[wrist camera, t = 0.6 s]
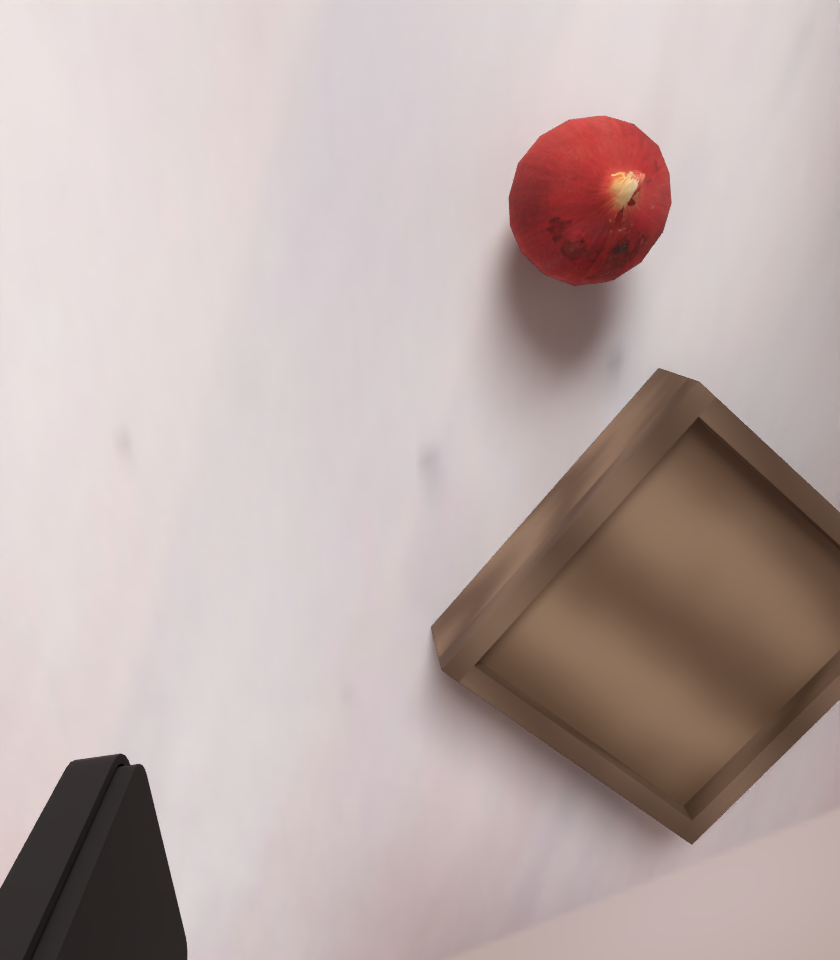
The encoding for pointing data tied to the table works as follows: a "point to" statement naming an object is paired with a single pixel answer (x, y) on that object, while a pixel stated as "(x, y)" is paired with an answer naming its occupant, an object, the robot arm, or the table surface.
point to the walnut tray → (662, 609)
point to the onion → (589, 200)
